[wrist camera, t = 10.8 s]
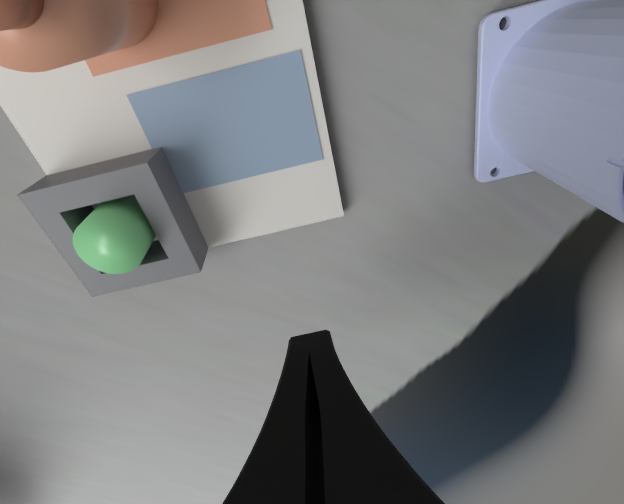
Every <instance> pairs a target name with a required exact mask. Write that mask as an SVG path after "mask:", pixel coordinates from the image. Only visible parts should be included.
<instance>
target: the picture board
mask: <svg viewBox="0 0 624 504" xmlns="http://www.w3.org/2000/svg"><path fill="white" fill-rule="evenodd" d="M0 106H1V107H2V109H3V110H4V112H5V113H6V115H7V116H8V118H9V119H10V121H11V122H12V124H13V125H14V127H15V128H16V130H17V131H18V133H19V134H20V136H21V137H22V139H23V140H24V142H25V143H26V145H27V146H28V148H29V149H30V151H31V152H32V154H33V155H34V157H35V158H36V160H37V161H38V163H39V164H40V166H41V167H42V169H43V170H44V172H45V173H46V175H47V176H45V177H44V178H42V179H41V180H39V181H38V182H36V183H35V184H33V185H32V186H30V187H29V188H27V189H26V190H24V191H23V192H21V193H20V194H18V195H17V196H18V197H19V198H20V200H21V201H22V202H23V204H24V205H25V206H26V208H27V209H28V210H29V212H30V213H31V215H32V216H33V217H34V219H35V220H36V221H37V223H38V224H39V225H40V227H41V228H42V229H43V231H44V232H45V234H46V235H47V236H48V238H49V239H50V240H51V242H52V243H53V244H54V246H55V247H56V248H57V250H58V251H59V253H60V254H61V255H62V257H63V258H64V259H65V261H66V262H67V263H68V265H69V266H70V267H71V269H72V270H73V272H74V273H75V274H76V276H77V277H78V278H79V280H80V281H81V282H82V284H83V285H84V286H85V288H86V289H87V291H88V292H89V293H90V295H91V296H92V297H94V296H99V295H103V294H107V293H112V292H116V291H120V290H125V289H129V288H133V287H138V286H142V285H146V284H151V283H155V282H159V281H164V280H168V279H172V278H177V277H181V276H186V275H190V274H194V273H199V272H201V270H202V266H203V263H204V260H205V257H206V254H207V250H208V248H209V247H213V246H217V245H222V244H226V243H230V242H234V241H239V240H243V239H247V238H252V237H256V236H260V235H264V234H269V233H273V232H277V231H282V230H286V229H290V228H294V227H299V226H303V225H307V224H312V223H316V222H320V221H324V220H329V219H333V218H337V217H342V216H344V213H343V208H342V203H341V197H340V192H339V187H338V182H337V177H336V171H335V166H334V161H333V156H332V151H331V145H330V140H329V135H328V130H327V125H326V119H325V114H324V109H323V104H322V99H321V93H320V88H319V83H318V78H317V73H316V67H315V62H314V57H313V52H312V47H311V41H310V36H309V31H308V26H307V21H306V15H305V10H304V5H303V0H158V10H157V16H156V20H155V23H154V26H153V28H152V30H151V31H150V33H149V34H148V35H147V37H146V38H144V39H143V40H142V41H141V42H139V43H138V44H136V45H133V46H131V47H128V48H124V49H121V50H117V51H114V52H111V53H107V54H104V55H100V56H97V57H94V58H90V59H87V60H83V61H80V62H77V63H73V64H70V65H67V66H63V67H60V68H56V69H53V70H49V71H45V72H35V73H34V72H21V71H15V70H11V69H8V68H4V67H1V66H0ZM130 195H135V197H136V199H137V201H138V202H139V204H140V206H141V208H142V210H143V212H144V213H145V215H146V217H147V219H148V221H149V223H150V225H151V226H152V228H153V230H154V232H155V234H156V237H155V239H154V240H153V242H152V244H151V246H150V247H149V249H148V251H147V253H146V254H145V256H144V258H143V260H142V261H141V263H140V265H139V266H138V267H137V268H136V269H134V270H132V271H130V272H128V273H124V274H109V273H104V272H101V271H98V270H96V269H94V268H92V267H90V266H89V265H87V264H86V263H85V262H84V261H83V260H82V259H81V258H80V257H79V256H78V254H77V253H76V251H75V249H74V246H73V233H74V231H75V229H76V228H77V227H78V226H79V225H80V224H81V223H82V222H83V221H84V220H85V219H86V218H87V217H88V215H89V214H90V213H91V212H92V211H93V210H94V209H95V208H96V207H97V206H98V205H99V204H100V203H101V202H105V201H109V200H113V199H117V198H121V197H126V196H130Z"/></svg>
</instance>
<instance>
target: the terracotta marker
mask: <svg viewBox="0 0 624 504" xmlns="http://www.w3.org/2000/svg"><path fill="white" fill-rule="evenodd" d="M157 10H158V0H0V66H1V67H4V68H8V69H11V70H15V71H21V72H34V73H35V72H45V71H49V70H53V69H56V68H60V67H63V66H67V65H70V64H73V63H77V62H80V61H83V60H87V59H90V58H94V57H97V56H100V55H104V54H107V53H111V52H114V51H117V50H121V49H124V48H128V47H131V46H133V45H136V44H138V43H139V42H141V41H142V40H143V39H144V38H146V37H147V35H148V34H149V33H150V31H151V30H152V28H153V26H154V23H155V20H156V16H157Z"/></svg>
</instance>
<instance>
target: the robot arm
mask: <svg viewBox="0 0 624 504" xmlns="http://www.w3.org/2000/svg"><path fill="white" fill-rule="evenodd" d="M503 17H505V18H506V25H505V27H504V28H503V29H502V30H501V29H500V28H499V23H500V21H501V19H502V18H503ZM494 168H496V171H495V172H494V173H493V174H490V173H491V170H492V169H494ZM533 171H535V172H537V173H539V174H540V175H542V176H544V177H546V178H547V179H549V180H551V181H552V182H554V183H556V184H558V185H559V186H561V187H563V188H564V189H566V190H568V191H570V192H571V193H573V194H575V195H576V196H578V197H580V198H582V199H583V200H585V201H587V202H588V203H590V204H592V205H594V206H595V207H597V208H599V209H601V210H602V211H604V212H606V213H607V214H609V215H611V216H613V217H614V218H616V219H618V220H619V221H621V222H623V223H624V0H540V1H536V2H532V3H528V4H524V5H520V6H517V7H513V8H509V9H505V10H501V11H497V12H493V13H490V14H488V15H486V16H485V17H484V18H483V19H482V20H481V22H480V25H479V32H478V63H477V94H476V125H475V155H474V177H475V179H476V180H477V181H479V182H481V183H485V182H490V181H494V180H498V179H503V178H507V177H511V176H515V175H520V174H524V173H528V172H533ZM223 504H445V503H444V502H443V501H442V500H441V499H440V498H439V497H438V496H437V495H436V494H435V493H434V492H433V491H432V490H431V489H430V487H429V486H428V485H427V484H426V483H425V482H424V481H423V480H422V479H421V477H420V476H419V475H418V474H417V473H416V472H415V471H414V469H413V468H412V467H411V466H410V465H409V464H408V462H407V461H406V460H405V459H404V457H403V456H402V455H401V454H400V453H399V451H398V450H397V449H396V448H395V446H393V444H392V443H391V442H390V440H389V439H388V438H387V436H386V435H385V434H384V432H383V431H382V430H381V428H380V427H379V425H378V424H377V423H376V421H375V420H374V418H373V417H372V416H371V414H370V413H369V411H368V410H367V408H366V407H365V405H364V404H363V402H362V400H361V399H360V397H359V396H358V394H357V392H356V391H355V389H354V387H353V386H352V384H351V382H350V380H349V378H348V377H347V375H346V373H345V371H344V369H343V367H342V365H341V363H340V361H339V359H338V356H337V354H336V352H335V349H334V346H333V342H332V338H331V335H330V331H327V330H323V331H318V332H313V333H309V334H304V335H300V336H295V337H291V339H290V340H289V344H288V350H287V354H286V358H285V362H284V366H283V370H282V373H281V377H280V380H279V383H278V386H277V389H276V392H275V395H274V398H273V401H272V403H271V406H270V409H269V411H268V414H267V417H266V419H265V422H264V424H263V427H262V429H261V431H260V434H259V436H258V438H257V440H256V442H255V444H254V447H253V449H252V451H251V453H250V455H249V457H248V459H247V461H246V463H245V465H244V467H243V469H242V470H241V472H240V474H239V476H238V478H237V480H236V482H235V483H234V485H233V487H232V489H231V490H230V492H229V494H228V495H227V497H226V499H225V500H224V502H223Z"/></svg>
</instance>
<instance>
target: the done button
mask: <svg viewBox="0 0 624 504" xmlns="http://www.w3.org/2000/svg"><path fill="white" fill-rule="evenodd" d="M155 237H156V234H155V232H154V230H153V228H152V226H151V225H150V223H149V221H148V219H147V217H146V215H145V213H144V212H143V210H142V208H141V206H140V204H139V202H138V201H137V199H136V197H135V195H130V196H126V197H121V198H117V199H113V200H109V201H105V202H101V203H100V204H99V205H98V206H97V207H96V208H95V209H94V210H93V211H92V212H91V213H90V214H89V215H88V217H87V218H86V219H85V220H84V221H83V222H82V223H81V224H80V225H79V226H78V227H77V228H76V229H75V231H74V233H73V246H74V249H75V251H76V253H77V254H78V256H79V257H80V258H81V259H82V260H83V261H84V262H85V263H86V264H87V265H89V266H90V267H92V268H94V269H96V270H98V271H101V272H104V273H109V274H124V273H128V272H130V271H132V270H134V269H136V268H137V267H138V266H139V265H140V263H141V261H142V260H143V258H144V256H145V254H146V253H147V251H148V249H149V247H150V246H151V244H152V242H153V240H154V239H155Z"/></svg>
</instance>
